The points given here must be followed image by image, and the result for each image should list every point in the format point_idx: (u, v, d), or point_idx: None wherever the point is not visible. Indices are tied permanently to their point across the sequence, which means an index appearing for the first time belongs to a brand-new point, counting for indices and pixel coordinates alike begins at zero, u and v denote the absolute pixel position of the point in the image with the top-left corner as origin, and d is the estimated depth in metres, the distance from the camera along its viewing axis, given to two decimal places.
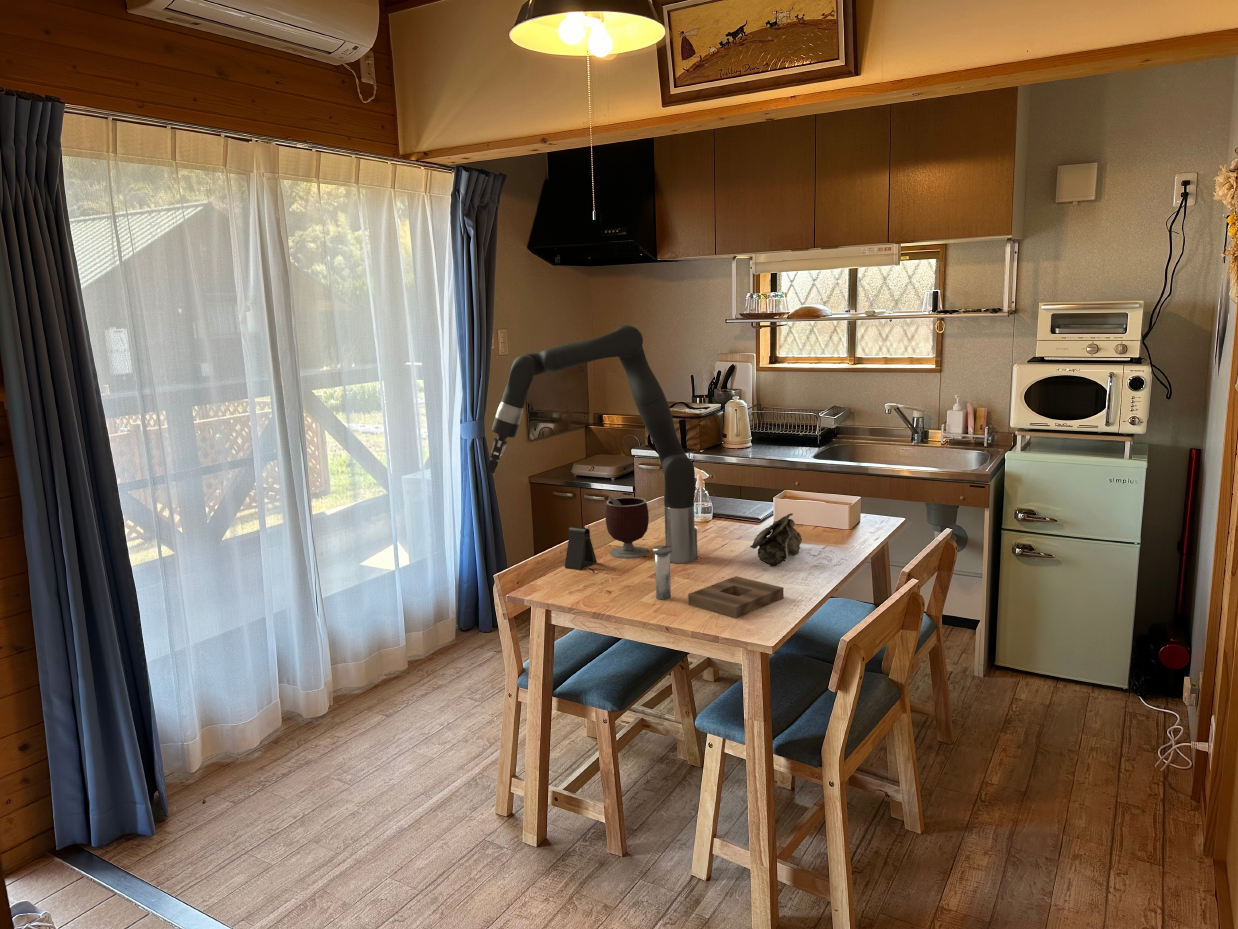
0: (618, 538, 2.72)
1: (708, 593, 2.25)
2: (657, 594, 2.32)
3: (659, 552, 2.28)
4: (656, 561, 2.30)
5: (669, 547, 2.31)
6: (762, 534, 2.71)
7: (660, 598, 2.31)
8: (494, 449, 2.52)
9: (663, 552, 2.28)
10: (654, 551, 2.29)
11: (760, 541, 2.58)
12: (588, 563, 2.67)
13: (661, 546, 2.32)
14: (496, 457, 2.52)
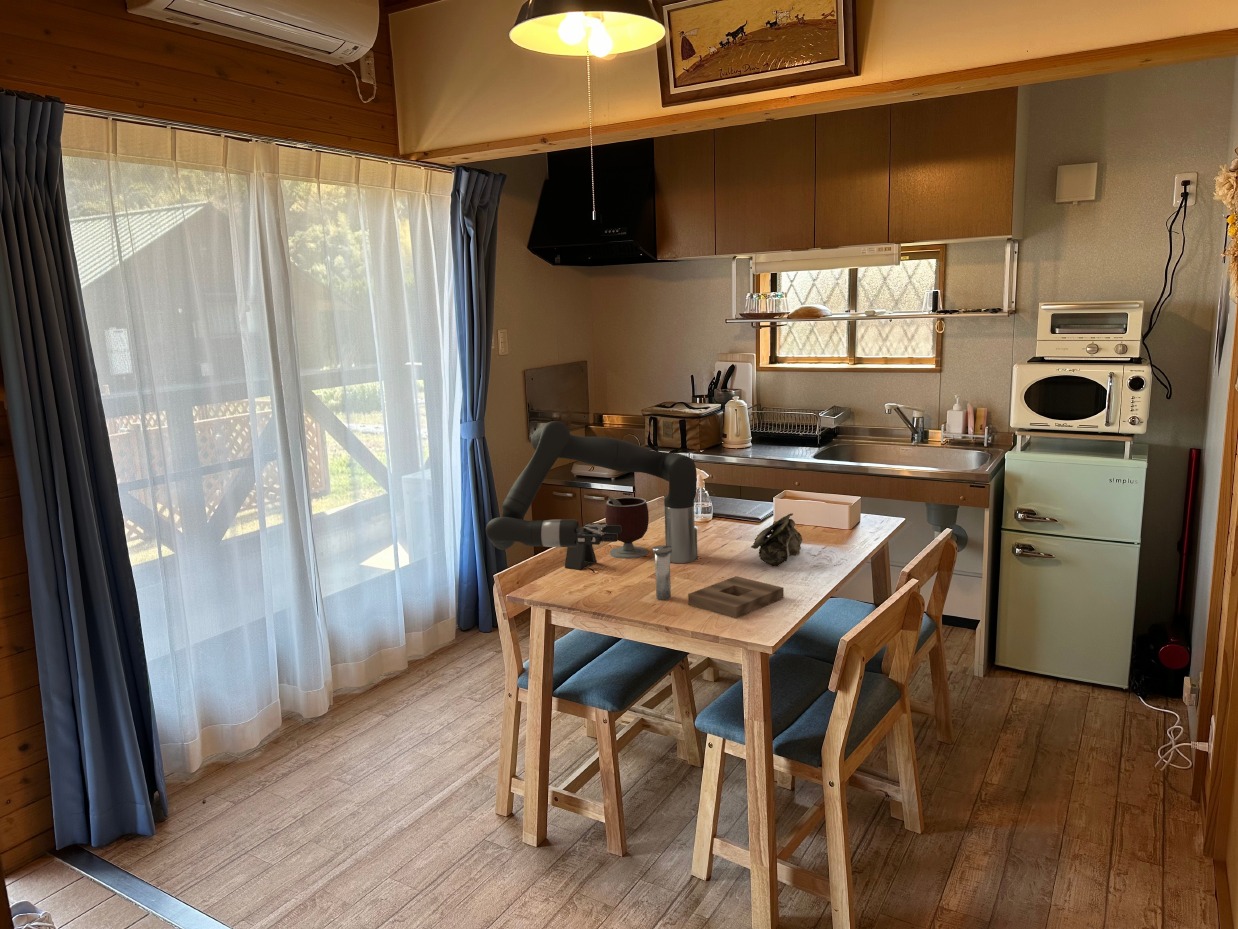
0: (618, 538, 2.72)
1: (708, 593, 2.25)
2: (657, 594, 2.32)
3: (659, 552, 2.28)
4: (656, 561, 2.30)
5: (669, 547, 2.31)
6: (762, 534, 2.71)
7: (660, 598, 2.31)
8: (588, 543, 2.25)
9: (663, 552, 2.28)
10: (654, 551, 2.29)
11: (761, 541, 2.58)
12: (588, 563, 2.67)
13: (661, 546, 2.32)
14: (596, 538, 2.25)
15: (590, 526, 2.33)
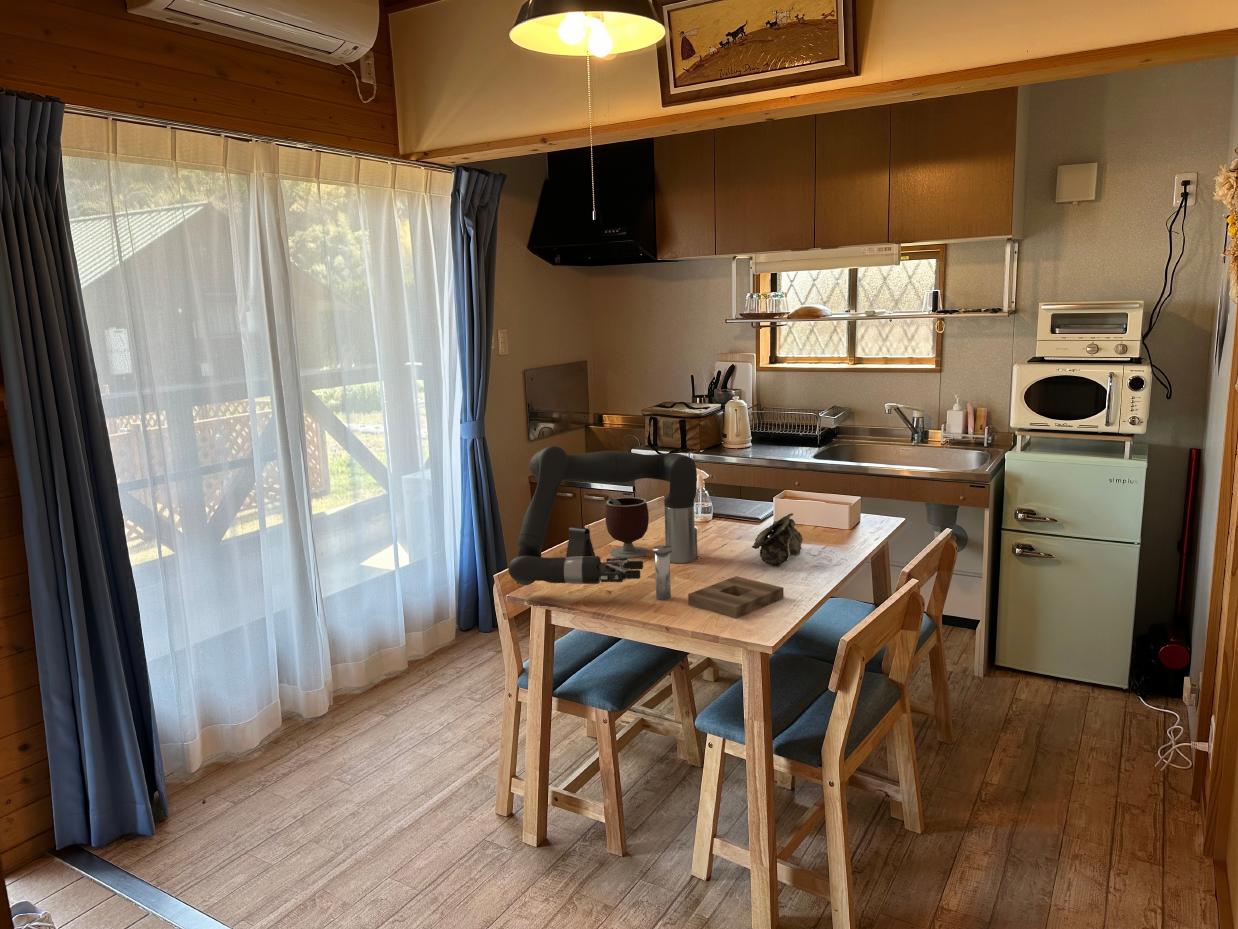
0: (618, 538, 2.72)
1: (708, 593, 2.25)
2: (657, 594, 2.32)
3: (659, 552, 2.28)
4: (656, 561, 2.30)
5: (669, 547, 2.31)
6: (763, 534, 2.71)
7: (660, 598, 2.31)
8: (611, 580, 2.27)
9: (663, 552, 2.28)
10: (654, 551, 2.29)
11: (762, 541, 2.58)
12: None
13: (661, 546, 2.32)
14: (619, 576, 2.26)
15: (612, 562, 2.34)
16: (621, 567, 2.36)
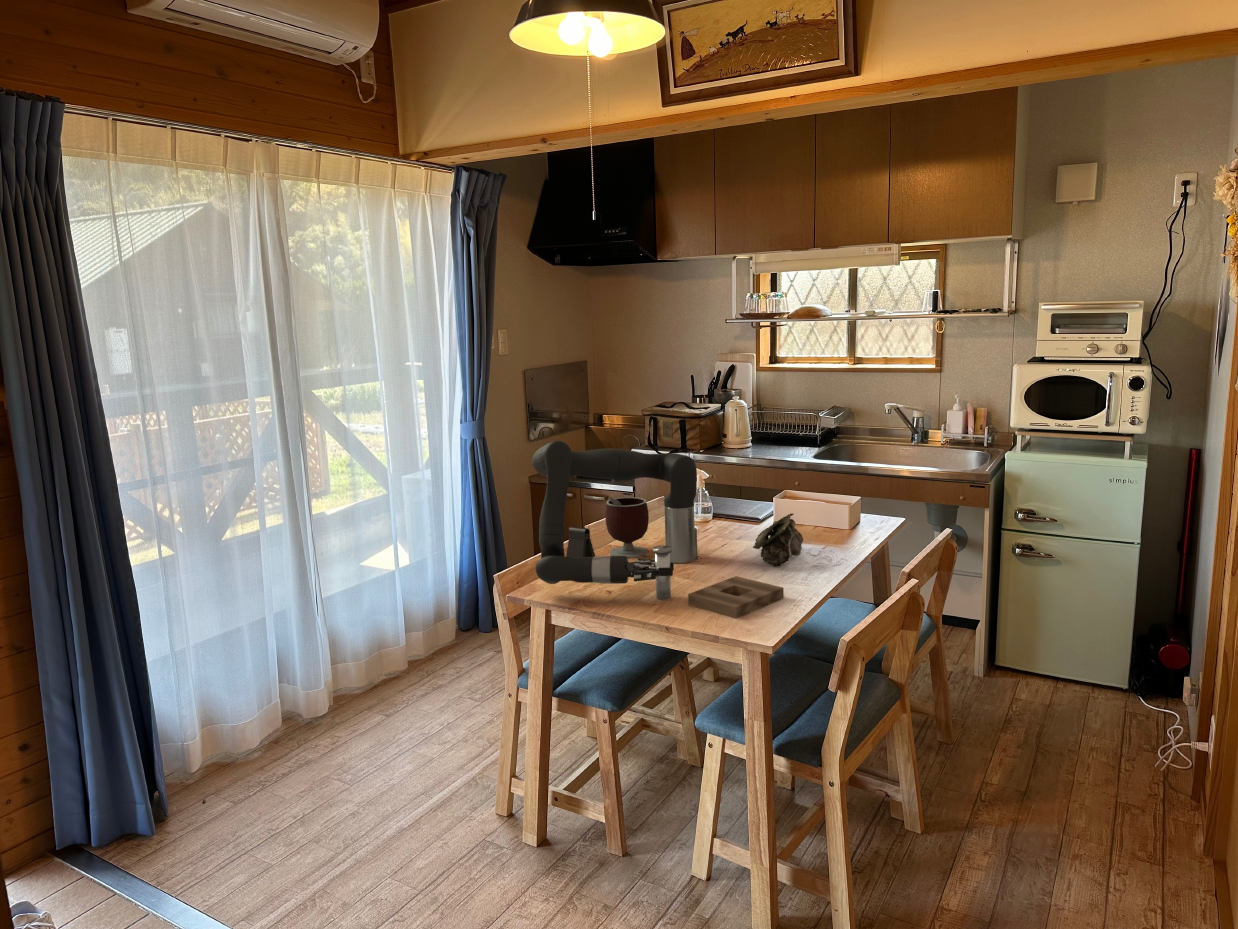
0: (618, 538, 2.72)
1: (708, 593, 2.25)
2: (657, 594, 2.32)
3: (659, 552, 2.28)
4: (656, 561, 2.30)
5: (669, 547, 2.31)
6: (763, 534, 2.70)
7: (660, 598, 2.31)
8: (645, 579, 2.27)
9: (663, 552, 2.28)
10: (654, 551, 2.29)
11: (763, 541, 2.58)
12: None
13: (661, 546, 2.32)
14: (652, 573, 2.27)
15: (639, 562, 2.33)
16: None
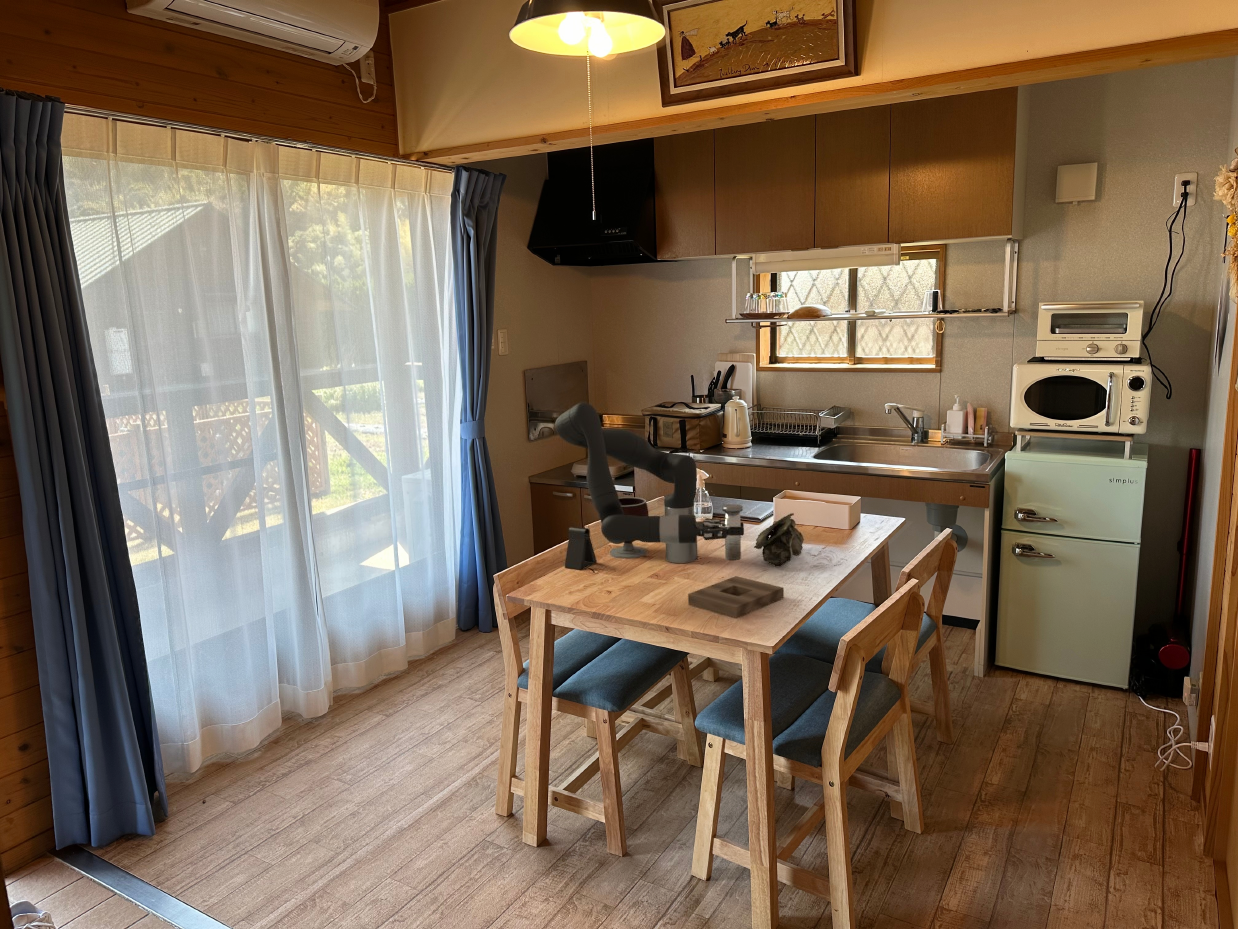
0: None
1: (708, 593, 2.25)
2: (727, 554, 2.24)
3: (730, 510, 2.21)
4: (726, 520, 2.23)
5: (740, 506, 2.23)
6: (764, 534, 2.70)
7: (730, 558, 2.24)
8: (716, 537, 2.19)
9: (734, 511, 2.21)
10: (725, 509, 2.22)
11: (764, 541, 2.58)
12: (588, 563, 2.67)
13: (731, 505, 2.24)
14: (723, 532, 2.19)
15: (708, 522, 2.25)
16: None
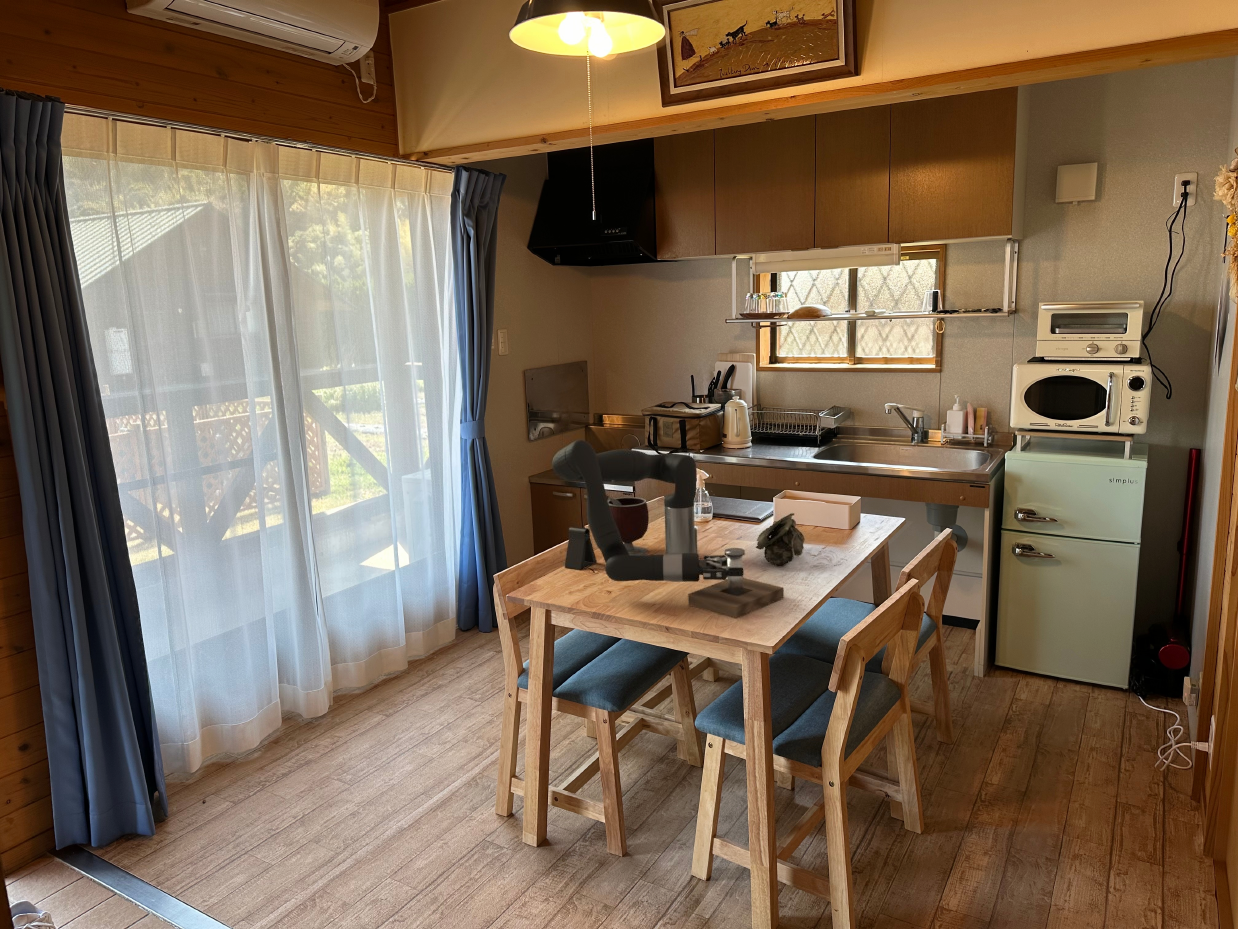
0: None
1: (708, 593, 2.25)
2: None
3: (732, 555, 2.23)
4: (729, 564, 2.25)
5: (742, 549, 2.25)
6: (764, 535, 2.70)
7: None
8: (714, 578, 2.20)
9: (737, 555, 2.23)
10: (727, 554, 2.24)
11: (766, 542, 2.57)
12: (588, 563, 2.67)
13: (733, 549, 2.27)
14: (722, 573, 2.19)
15: (712, 560, 2.27)
16: (720, 564, 2.29)
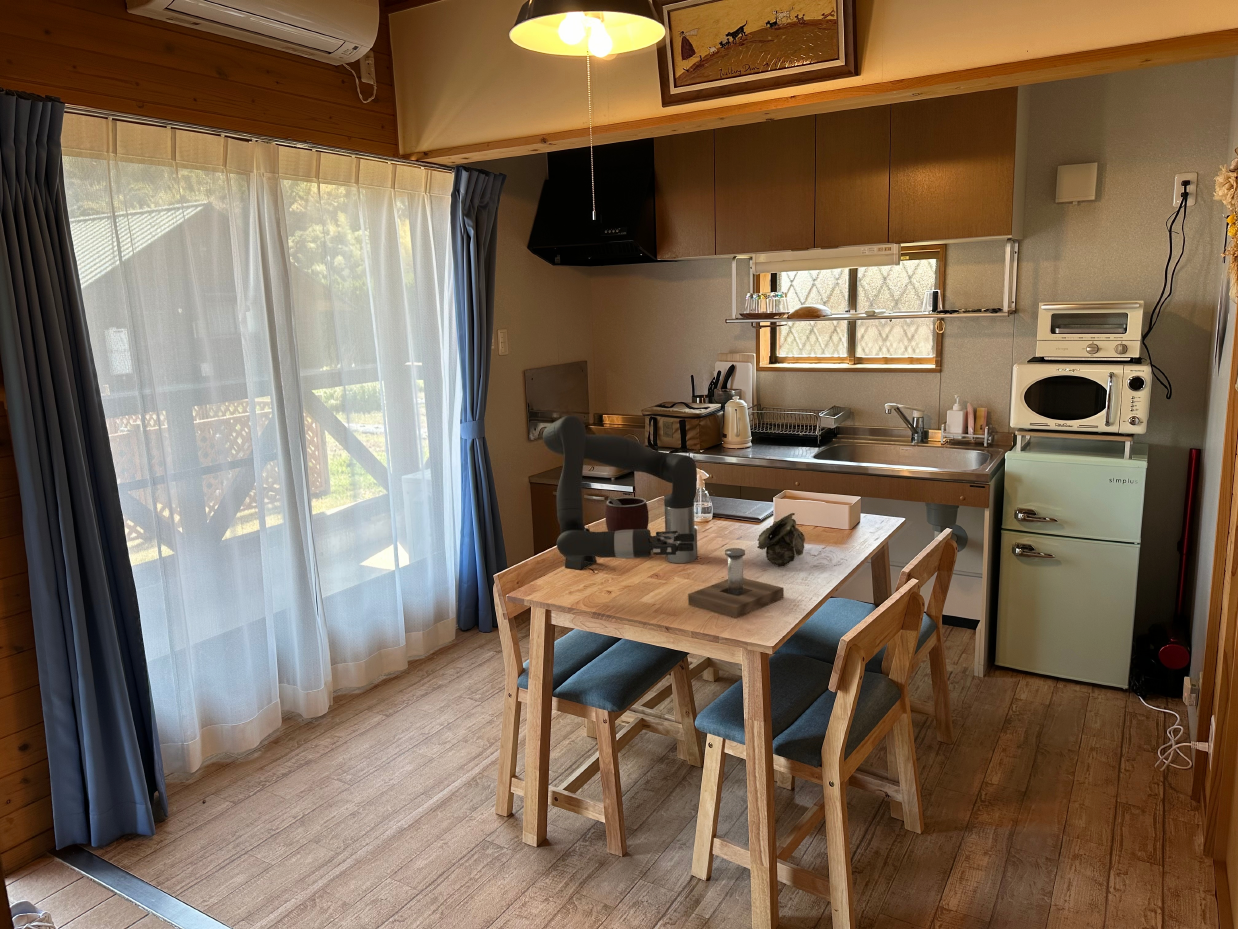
0: None
1: (708, 593, 2.25)
2: None
3: (733, 555, 2.23)
4: (729, 564, 2.25)
5: (742, 550, 2.25)
6: (765, 534, 2.70)
7: None
8: (664, 553, 2.20)
9: (737, 555, 2.23)
10: (727, 554, 2.24)
11: (767, 542, 2.57)
12: (588, 563, 2.67)
13: (734, 549, 2.27)
14: (672, 548, 2.20)
15: (663, 535, 2.28)
16: (672, 540, 2.30)
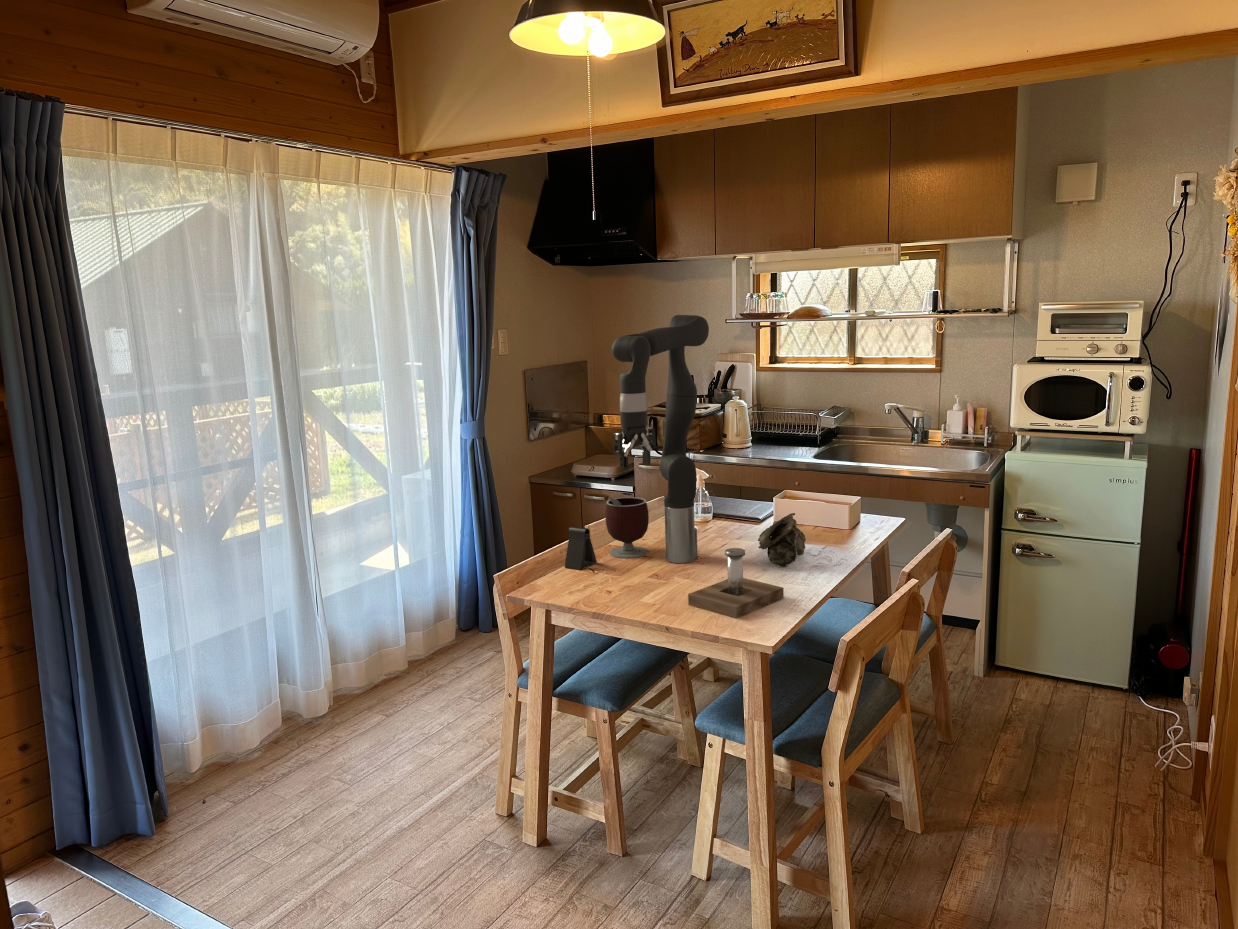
0: (618, 538, 2.72)
1: (708, 593, 2.25)
2: None
3: (733, 555, 2.23)
4: (729, 564, 2.25)
5: (742, 550, 2.25)
6: (765, 535, 2.70)
7: None
8: (614, 443, 2.34)
9: (737, 555, 2.23)
10: (727, 554, 2.24)
11: (769, 542, 2.57)
12: (588, 563, 2.67)
13: (734, 549, 2.27)
14: (617, 451, 2.33)
15: (641, 438, 2.37)
16: (641, 444, 2.40)
